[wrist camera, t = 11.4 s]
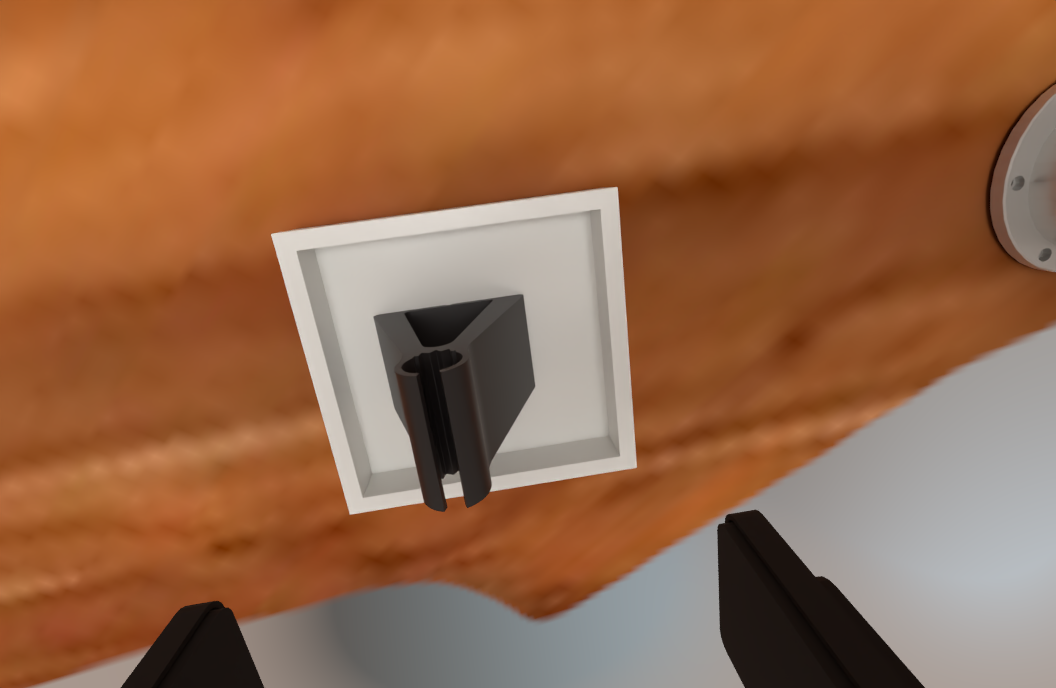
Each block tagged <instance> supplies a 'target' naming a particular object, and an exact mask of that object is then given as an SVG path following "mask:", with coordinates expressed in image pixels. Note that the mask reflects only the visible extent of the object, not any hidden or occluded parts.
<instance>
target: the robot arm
mask: <svg viewBox="0 0 1056 688" xmlns="http://www.w3.org/2000/svg"><path fill="white" fill-rule="evenodd" d="M990 211H991V217H992V223H993V227H994V230H995V232H996V235H997V237H998V240H999V242H1000V243H1001V244H1002V246H1003V247H1004V249H1005V250H1006V251H1007V253H1008V254H1009V255H1011V256H1012V257H1013V258H1014V259H1016V260H1017V261H1018V262H1019V263H1022V264H1024V265H1026V266H1028V267H1031V268H1033V269H1039V270H1045V271H1050V272H1056V84H1055V85H1053V86H1052V87H1051V88H1049V89H1048V90H1047V91H1046V92H1044V93H1043V94H1042V95H1041V96H1040V97H1039V98H1038V99H1037V100H1036V101H1035V102H1034V103H1033V104H1032V105H1031V106H1030V107H1029V108H1028V109H1027V111H1026V112H1025V113H1024V115H1023V116H1022V117H1021V119H1020V120H1019V121H1018V123H1017V124H1016V126H1015V127H1014V128H1013V130H1012V132H1011V133H1010V135H1009V137H1008V139H1007V141H1006V143H1005V145H1004V147H1003V149H1002V150H1001V153H1000V156H999V159H998V162H997V164H996V167H995V170H994V175H993V180H992V185H991V190H990ZM717 531H718V569H719V570H718V572H719V610H720V632H721V638H722V641H723V644H724V647H725V649H726V652H727V654H728V656H729V657H730V659H731V661H732V663H733V665H734V667H735V669H736V671H737V673H738V675H739V677H740V679H741V681H742V683H743V684H744V687H745V688H925V687H924V686H923V685H922V684H921V683H920V682H919V680H918V679H917V678H916V677H915V676H914V675H913V674H912V673H911V671H910V670H909V669H908V668H907V667H906V666H905V664H904V663H903V662H902V661H901V660H900V659H899V658H898V657H897V655H896V654H895V653H894V652H893V651H892V650H891V648H890V647H889V646H888V645H887V644H886V643H885V642H884V641H883V639H882V638H881V637H880V636H879V635H878V634H877V633H876V631H875V630H874V629H873V628H872V627H871V626H870V625H869V624H868V622H867V621H866V620H865V619H864V618H863V617H862V615H861V614H860V613H859V612H858V611H857V610H856V609H855V608H854V606H853V605H852V604H851V603H850V602H849V601H848V599H847V598H846V597H845V596H844V595H843V594H842V593H841V592H840V590H839V589H838V588H837V587H836V586H835V585H834V584H833V583H832V582H831V581H830V580H828V579H826V578H824V577H822V576H821V577H815V576H814V575H813V574H812V572H811V571H810V570H809V569H808V568H807V567H806V565H805V564H804V563H803V562H802V561H801V560H800V558H799V557H798V556H797V555H796V554H795V552H794V551H793V550H792V549H791V548H790V546H789V545H788V544H787V543H786V542H785V540H784V539H783V538H782V537H781V536H780V535H779V533H778V532H777V531H776V530H775V529H774V527H773V526H772V525H771V524H770V523H769V522H768V520H767V519H766V518H765V517H764V516H763V514H761V513H760V512H759V511H757V510H751V511H746V512H740V513H734V514H728V515H727V516H726V518H725V523H723V524H719V525H718V530H717ZM121 688H264V686H263V684H262V681H261V679H260V677H259V674H258V672H257V670H256V667H255V664H254V662H253V660H252V657H251V655H250V653H249V650H248V648H247V645H246V643H245V640H244V638H243V636H242V633H241V631H240V628H239V626H238V624H237V621H236V619H235V616H234V614H233V612H232V610H231V609H229V608H225V607H224V606H223V604H222V603H221V602H219V601H213V602H207V603H201V604H195V605H189V606H185V607H183V608H181V609H180V610H179V611H178V612H177V613H176V614H175V615H174V617H173V618H172V620H171V621H170V622H169V624H168V625H167V626H166V628H165V629H164V630H163V632H162V633H161V634H160V636H159V637H158V638H157V640H156V641H155V642H154V644H153V645H152V646H151V648H150V649H149V650H148V652H147V653H146V654H145V656H144V657H143V659H142V660H141V661H140V663H139V664H138V665H137V667H136V668H135V669H134V671H133V672H132V673H131V675H130V676H129V677H128V679H127V680H126V681H125V683H124V684H123V685H122V687H121Z"/></svg>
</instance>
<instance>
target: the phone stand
mask: <svg viewBox="0 0 1056 688" xmlns="http://www.w3.org/2000/svg"><path fill="white" fill-rule="evenodd" d="M373 318H374V322H375V326H376V331H377V335H378V339H379V344H380V348H381V352H382V357H383V361H384V365H385V370H386V374H387V378H388V383H389V387H390V391H391V396H392V400H393V404H394V408H395V410H396V412H397V414H398V416H399V418H400V420H401V422H402V424H403V426H404V428H405V429H406V431H407V433H408V435H409V438H410V442H411V447H412V451H413V456H414V460H415V465H416V469H417V474H418V478H419V482H420V487H421V491H422V496H423V500H424V503H425V504H426V505H427V506H428V507H429V508H431V509H433V510H437V511H443V512H445V510H446V509H447V504H446V499H445V494H444V489H443V484H442V480H441V479H444V477H445V475H446V474H451V475H454V474H455V473H457V472H458V471H459V474H460V479H461V485H462V490H463V495H464V500H465V505H466V507H467V508H468V507H471V506H473V505H475V504H477V503H478V502H480V501H481V500H483V499H484V498H485V497H486V496H487V495H488V493H489V492H490V490H491V487H492V481H491V476H490V470H489V467H490V464H491V461H492V460H493V458H494V456H495V454H496V453H497V451H498V449H499V448H500V446H501V444H502V443H503V441H504V439H505V437H506V436H507V434H508V432H509V431H510V429H511V427H512V426H513V424H514V422H515V420H516V419H517V417H518V415H519V414H520V412H521V410H522V408H523V407H524V405H525V403H526V402H527V400H528V398H529V397H530V395H531V393H532V391H533V390H534V388H535V379H534V372H533V364H532V357H531V349H530V342H529V334H528V327H527V319H526V311H525V304H524V296H523V295H522V294H518V295H511V296H504V297H497V298H490V299H483V300H476V301H469V302H462V303H455V304H451V305H441V306H434V307H427V308H420V309H413V310H406V311H399V312H393V313H386V314H379V315H375V316H374V317H373Z"/></svg>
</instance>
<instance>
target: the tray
mask: <svg viewBox="0 0 1056 688" xmlns="http://www.w3.org/2000/svg"><path fill="white" fill-rule="evenodd" d="M271 236H272V239H273V243H274V246H275V250H276V253H277V257H278V260H279V264H280V268H281V271H282V275H283V278H284V282H285V285H286V289H287V292H288V296H289V299H290V303H291V307H292V310H293V314H294V317H295V321H296V324H297V328H298V331H299V335H300V338H301V342H302V346H303V349H304V353H305V356H306V360H307V363H308V367H309V370H310V374H311V378H312V381H313V385H314V388H315V392H316V395H317V399H318V402H319V406H320V409H321V413H322V417H323V420H324V424H325V427H326V431H327V434H328V438H329V441H330V445H331V449H332V452H333V456H334V459H335V463H336V466H337V470H338V473H339V477H340V480H341V484H342V488H343V491H344V495H345V498H346V502H347V505H348V509H349V512H350V514H356V513H362V512H368V511H374V510H381V509H387V508H393V507H399V506H405V505H411V504H417V503H424V500H423V496H422V491H421V487H420V482H419V478H418V474H417V469H416V465H415V460H414V456H413V451H412V447H411V442H410V438H409V435H408V433H407V431H406V429H405V428H404V426H403V424H402V422H401V420H400V418H399V416H398V414H397V412H396V410H395V408H394V404H393V400H392V396H391V391H390V387H389V383H388V378H387V374H386V370H385V365H384V361H383V357H382V352H381V348H380V344H379V339H378V335H377V331H376V326H375V322H374V318H373V317H374V316H375V315H379V314H386V313H393V312H399V311H406V310H413V309H420V308H427V307H434V306H441V305H451V304H455V303H462V302H469V301H476V300H483V299H490V298H497V297H504V296H511V295H518V294H522V295H523V296H524V304H525V311H526V319H527V327H528V334H529V342H530V349H531V357H532V364H533V372H534V379H535V388H534V390H533V391H532V393H531V395H530V397H529V398H528V400H527V402H526V403H525V405H524V407H523V408H522V410H521V412H520V414H519V415H518V417H517V419H516V420H515V422H514V424H513V426H512V427H511V429H510V431H509V432H508V434H507V436H506V437H505V439H504V441H503V443H502V444H501V446H500V448H499V449H498V451H497V453H496V454H495V456H494V458H493V460H492V461H491V464H490V467H489V470H490V476H491V481H492V487H491V490H490V492H491V491H497V490H503V489H509V488H515V487H522V486H528V485H534V484H540V483H546V482H552V481H558V480H564V479H571V478H577V477H583V476H589V475H595V474H601V473H607V472H614V471H620V470H626V469H632V468H637V463H636V449H635V434H634V419H633V405H632V390H631V376H630V361H629V346H628V332H627V317H626V303H625V288H624V274H623V259H622V244H621V230H620V215H619V201H618V187H608V188H597V189H589V190H582V191H575V192H567V193H560V194H552V195H545V196H538V197H530V198H523V199H515V200H508V201H501V202H493V203H486V204H478V205H471V206H464V207H456V208H449V209H441V210H434V211H427V212H419V213H412V214H404V215H397V216H390V217H382V218H375V219H367V220H360V221H353V222H345V223H338V224H330V225H323V226H315V227H308V228H301V229H294V230H289V231H284V232H278V233H273V234H271ZM441 480H442V484H443V489H444V494H445V499H448V498H454V497H460V496H464V495H463V490H462V485H461V479H460V474H459V471H458V472H457V473H455V474H454V475H451V474H446V475H445V477H444V479H441Z"/></svg>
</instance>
